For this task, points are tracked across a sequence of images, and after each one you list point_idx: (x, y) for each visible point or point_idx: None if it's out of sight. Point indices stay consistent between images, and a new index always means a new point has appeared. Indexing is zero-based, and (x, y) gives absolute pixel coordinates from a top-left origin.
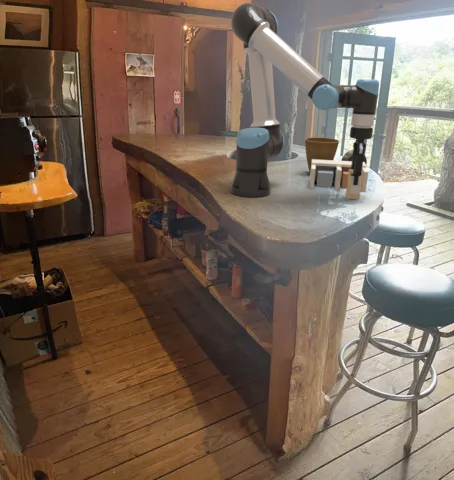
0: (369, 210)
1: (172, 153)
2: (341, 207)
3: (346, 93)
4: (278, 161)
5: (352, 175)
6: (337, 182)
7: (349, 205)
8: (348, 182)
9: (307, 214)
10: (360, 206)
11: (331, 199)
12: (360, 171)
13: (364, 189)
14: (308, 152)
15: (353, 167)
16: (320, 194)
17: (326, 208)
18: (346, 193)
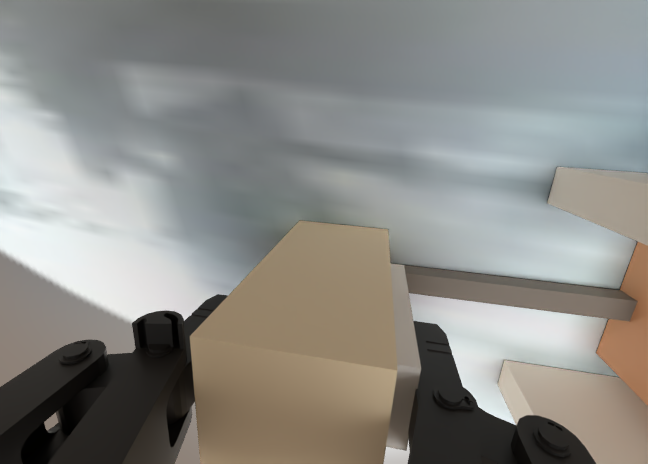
0: (90, 296)
1: None
2: (82, 152)
3: None
4: None
5: (153, 330)
6: (602, 191)
7: (141, 209)
8: (271, 265)
9: None
10: (144, 268)
11: (245, 102)
12: (34, 448)
13: (507, 391)
14: None
15: (409, 460)
16: (384, 8)
17: (21, 46)
18: (343, 232)
